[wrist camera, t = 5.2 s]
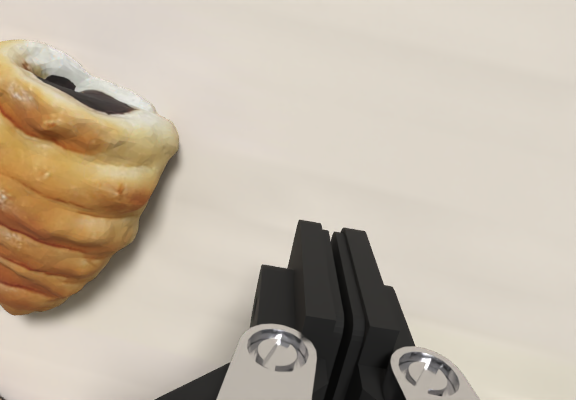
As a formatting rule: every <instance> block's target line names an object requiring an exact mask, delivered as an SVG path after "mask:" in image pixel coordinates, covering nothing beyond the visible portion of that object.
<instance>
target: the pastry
mask: <svg viewBox="0 0 576 400" xmlns="http://www.w3.org/2000/svg"><path fill="white" fill-rule="evenodd" d="M178 149H179V135H178V132H177V130H176V127H175V126H174V124H173V123H172V122H171V121H170V120H168V119H166V118H165V117H162V116H160V115H159V114H158V113H157V112H156V110H155V107H154V106H153V105H152V104H151V103H150V102H148V101H147V100H145V99H144V98H142V97H141V96H139V95H138V94H136V93H134V92H133V91H131V90H129V89H126V88H122V87H119V86H117V85H115V84H114V83H112V82H109V81H106V80H104V79H101V78H97V77H94V76H91V75H90V74H89V73H88V72H87V71H86V70H84V69H83V68H82V66H81V65H80V64H79V63H78V62H77V61H76V60H74V59H73V58H72V57H70V56H69V55H67V54H66V53H64V52H61V51H59V50H57V49H55V48H53V47H51V46H50V45H48V44H46V43H42V42H37V41H30V40H9V41H2V42H0V304H1V306H2V307H3V308H4V309H5V310H6V311H7V312H8V313H10V314H12V315H24V314H29V313H32V312H34V311H39V312H42V311H47V310H50V309H52V308H55V307H57V306H59V305H61V304H62V303H64V302H65V301H66V300H67V299H68V298H69V297H70V296H71V295H73V294H75V293H77V292H78V291H80V290H81V289H82V288H83V287H84V286H85V285H86V283H88V282H90V281H92V280H93V279H94V278H95V277H96V276H97V275H98V274H99V273H100V271H101V270H102V269H103V268H104V267H105V266H106V265H107V263H108V262H109V260H110V258H111V257H112V255H113V254H115V253H116V252H117V251H119V250H121V249H122V248H124V247H125V246H127V245H128V244H130V243H132V242H133V240H134V238H135V236H136V234H137V232H138V229H139V217H140V216H141V214H142V213H143V211H144V209H145V208H146V206H147V203H148V201H149V198H150V196H151V195H152V193H153V191H154V189H155V187H156V186H157V184H158V181H159V179H160V176H161V174H162V172H163V170H164V168H165V166H166V164H167V162H168V160H169V159H170V158H171V157H172V156H173V155H174V154H175V153H176V152H177V151H178Z"/></svg>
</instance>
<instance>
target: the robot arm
mask: <svg viewBox="0 0 576 400" xmlns="http://www.w3.org/2000/svg"><path fill="white" fill-rule="evenodd" d="M155 400H480V399H479V397H478V396H477V394H476V393H475V391H474V390H473V388H472V387H471V385H470V384H469V382H468V380H467V379H466V377H465V376H464V374H463V373H462V372H461V371H460V370H459V368H458V367H457V366H456V365H455V364H453V363H452V362H451V361H450V360H448V359H447V358H446V357H444V356H442V355H440V354H438V353H437V352H434V351H431V350H428V349H426V348H421V347H415V344H414V341H413V339H412V336H411V333H410V331H409V328H408V325H407V323H406V320H405V317H404V315H403V312H402V309H401V307H400V304H399V301H398V299H397V296H396V293H395V291H394V289H393V287H391V286H386V285H384V284H383V281H382V278H381V275H380V272H379V269H378V266H377V263H376V260H375V258H374V255H373V252H372V249H371V246H370V243H369V240H368V237H367V234H366V232H365V231H360V230H355V229H349V228H343V229H342V230H341V233H339V232H334V233H333V235H332V239H331V242H330V236H329V231H328V230H322V226H321V223H315V222H310V221H304V220H299V222H298V225H297V229H296V233H295V237H294V242H293V246H292V251H291V255H290V260H289V264H288V268H287V269H286V268H280V267H274V266H269V265H263V264H262V266H261V270H260V274H259V279H258V284H257V289H256V294H255V299H254V305H253V311H252V317H251V324H250V329H248V330H247V331H245V332H244V333H243V335H242V336H241V338H240V339H239V342H238V345H237V347H236V350H235V352H234V355H233V358H232V360H231V362H230V363H228V364H226V365H224V366H222V367H220V368H218V369H216V370H214V371H212V372H210V373H208V374H206V375H204V376H202V377H200V378H198V379H196V380H194V381H192V382H190V383H187V384H185V385H183V386H181V387H179V388H177V389H175V390H173V391H171V392H169V393H167V394H165V395H163V396H161V397H159V398H157V399H155Z"/></svg>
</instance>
